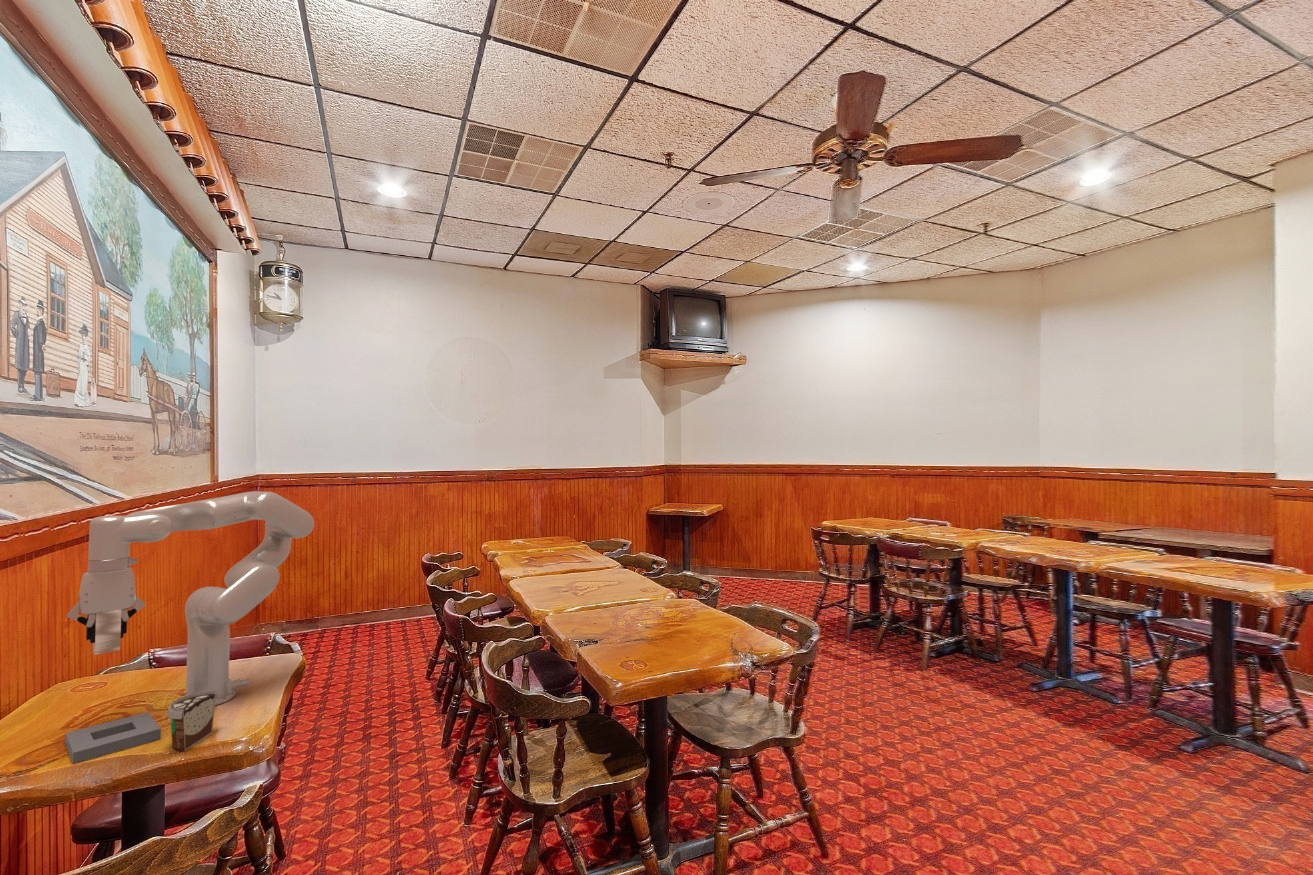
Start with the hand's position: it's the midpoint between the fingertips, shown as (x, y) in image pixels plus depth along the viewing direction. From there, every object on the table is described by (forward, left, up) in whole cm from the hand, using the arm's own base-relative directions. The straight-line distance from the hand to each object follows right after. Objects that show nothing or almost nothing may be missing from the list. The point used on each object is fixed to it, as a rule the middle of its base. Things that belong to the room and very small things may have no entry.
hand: (106, 638), depth 144 cm
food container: (-12, +21, -24) cm, 34 cm away
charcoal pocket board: (-1, +7, -23) cm, 24 cm away
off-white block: (0, 0, -3) cm, 3 cm away
